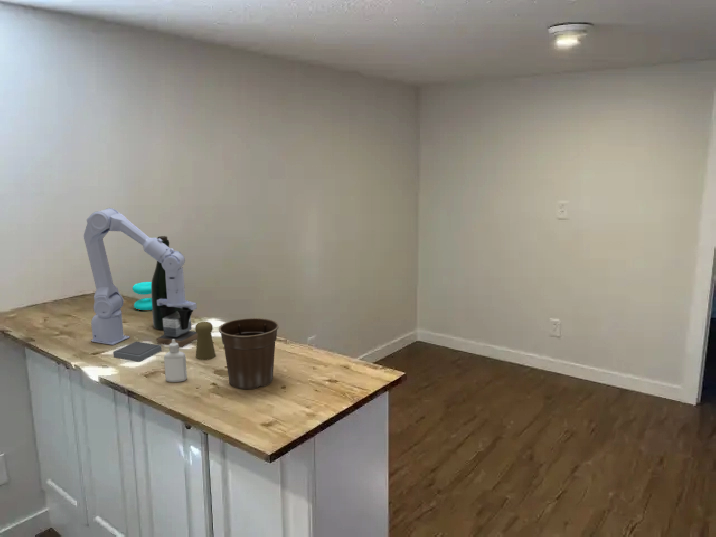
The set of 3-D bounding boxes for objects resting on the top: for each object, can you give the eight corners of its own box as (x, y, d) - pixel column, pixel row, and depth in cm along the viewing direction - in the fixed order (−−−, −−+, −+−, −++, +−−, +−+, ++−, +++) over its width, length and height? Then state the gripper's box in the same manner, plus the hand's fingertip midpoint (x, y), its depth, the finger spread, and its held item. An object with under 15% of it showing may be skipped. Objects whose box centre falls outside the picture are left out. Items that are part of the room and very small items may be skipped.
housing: (164, 335, 187) (162, 318, 186) (179, 327, 195) (178, 311, 193) (176, 337, 186) (175, 319, 184) (191, 329, 193) (190, 312, 192)
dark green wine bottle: (147, 327, 204) (140, 236, 197) (171, 320, 213) (165, 233, 205) (165, 332, 198) (158, 239, 191) (190, 325, 207) (184, 235, 200)
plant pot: (230, 369, 167) (227, 316, 164) (284, 369, 167) (283, 317, 163) (214, 392, 151) (211, 335, 148) (274, 393, 151) (273, 336, 147)
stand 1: (113, 357, 176) (113, 351, 175) (136, 346, 185) (136, 340, 184) (139, 361, 172) (139, 355, 172) (161, 350, 182) (161, 344, 181)
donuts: (144, 280, 232) (164, 282, 228) (146, 303, 234) (166, 306, 230) (126, 285, 223) (146, 288, 219) (128, 310, 225) (149, 312, 221)
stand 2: (157, 343, 188) (156, 337, 188) (176, 333, 197) (176, 328, 197) (181, 347, 185) (181, 341, 184) (200, 337, 194) (200, 331, 193)
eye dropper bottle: (178, 384, 156) (175, 343, 154) (163, 380, 159) (160, 340, 156) (189, 378, 160) (186, 338, 158) (174, 375, 163) (171, 335, 160)
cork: (210, 360, 173) (208, 326, 171) (192, 359, 175) (189, 325, 172) (218, 353, 179) (217, 320, 177) (201, 352, 180) (199, 319, 178)
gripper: (149, 289, 186) (152, 328, 189) (186, 293, 181) (188, 334, 184) (163, 284, 192) (166, 322, 195) (199, 288, 187) (201, 327, 190)
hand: (178, 327), depth 190 cm, fingers closed on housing, 5 cm apart
